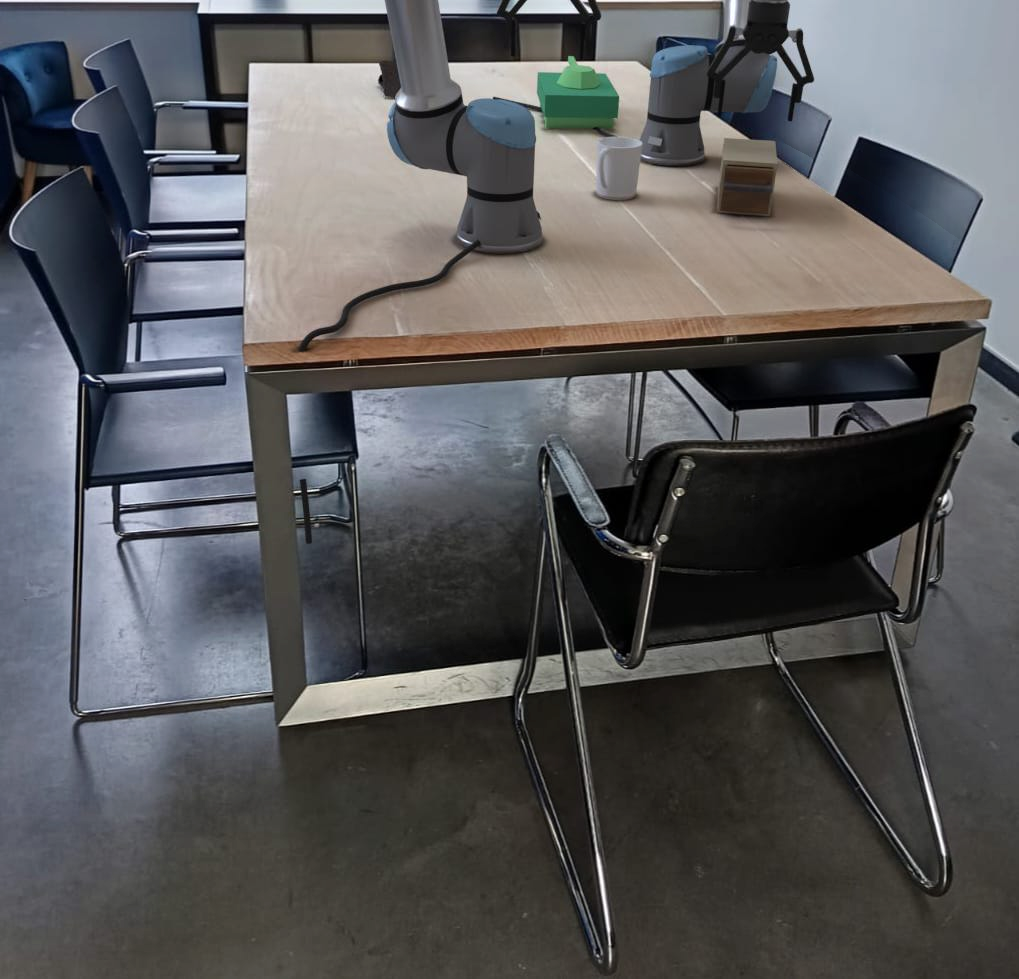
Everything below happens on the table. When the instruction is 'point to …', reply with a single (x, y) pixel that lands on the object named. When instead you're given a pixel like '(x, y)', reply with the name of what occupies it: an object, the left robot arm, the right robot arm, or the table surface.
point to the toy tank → (577, 98)
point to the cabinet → (747, 162)
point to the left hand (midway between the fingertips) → (547, 57)
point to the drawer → (746, 189)
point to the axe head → (389, 78)
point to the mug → (617, 167)
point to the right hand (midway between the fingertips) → (754, 117)
